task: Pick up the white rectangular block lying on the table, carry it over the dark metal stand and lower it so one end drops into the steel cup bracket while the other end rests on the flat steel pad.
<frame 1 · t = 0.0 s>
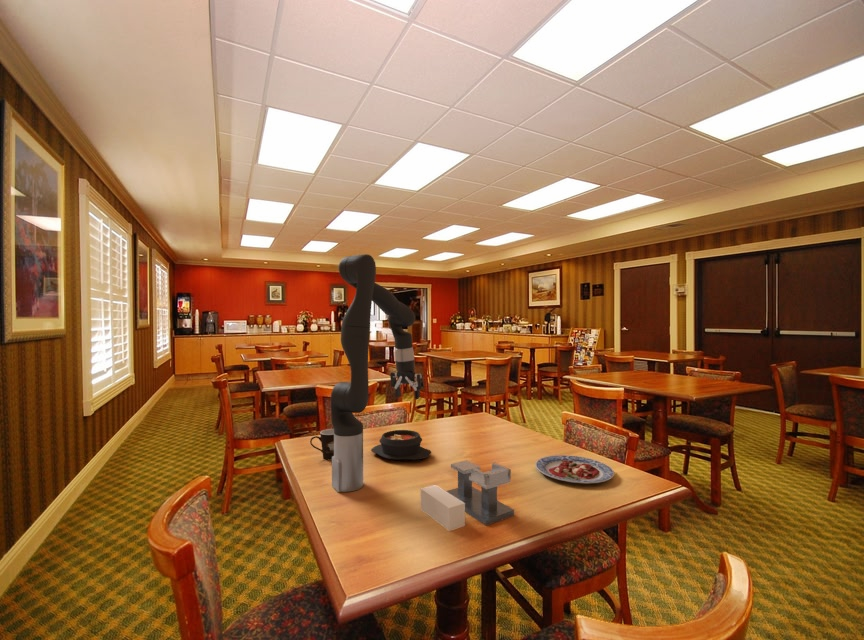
hand: (408, 398, 158), 22 cm above the table, tool pointing down, fingers open, 8 cm apart
coffee mug: (327, 457, 154), on the table
ceramic plate: (573, 474, 137), on the table
white rectangular block: (441, 517, 106), on the table
casserole: (400, 456, 156), on the table
rail stand: (476, 505, 113), on the table
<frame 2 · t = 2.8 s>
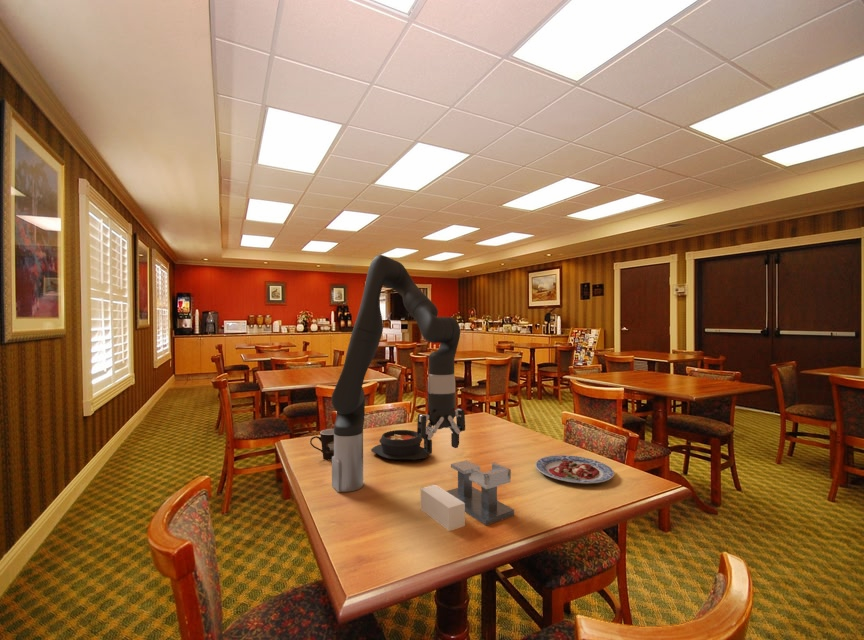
hand: (441, 450, 106), 18 cm above the table, tool pointing down, fingers open, 8 cm apart
nothing on the table moved.
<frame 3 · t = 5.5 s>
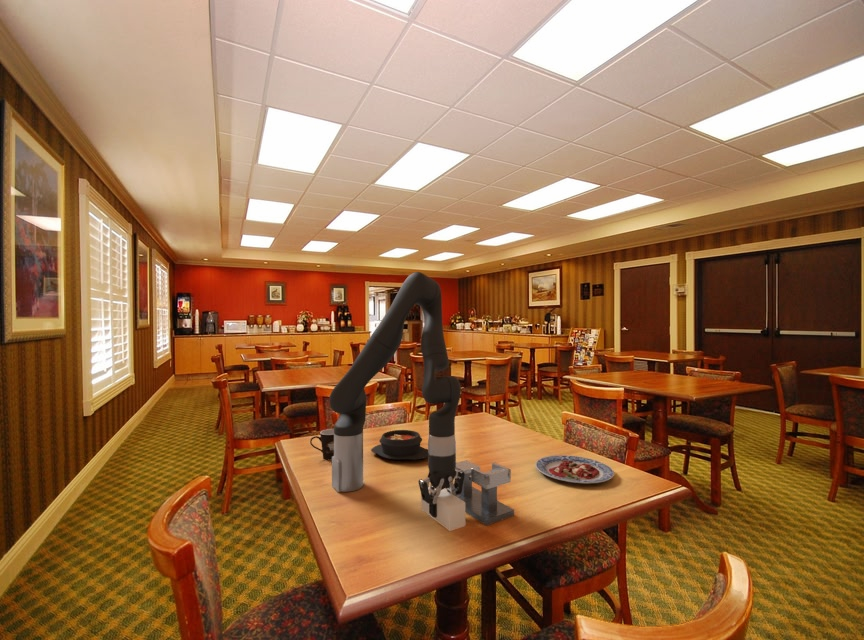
hand: (442, 513, 106), 1 cm above the table, tool pointing down, fingers closed on white rectangular block, 5 cm apart
white rectangular block: (442, 517, 106), on the table, touching gripper
everything else where it was.
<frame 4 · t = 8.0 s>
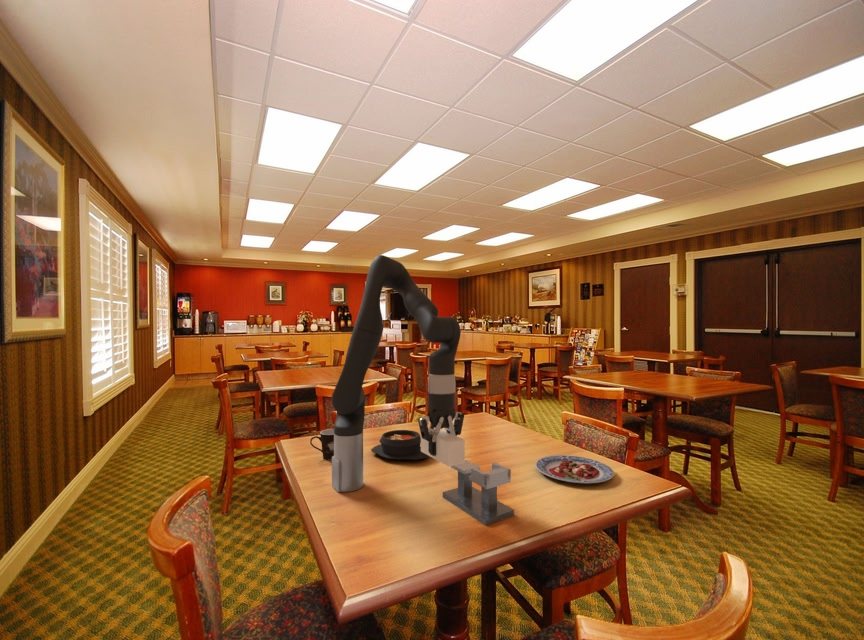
hand: (441, 452, 106), 17 cm above the table, tool pointing down, fingers closed on white rectangular block, 5 cm apart
white rectangular block: (441, 456, 106), point 16 cm above the table, touching gripper
everything else where it was.
when the fingers open (12 cm above the table, at t = 10.7 s): white rectangular block stays where it is, resting on rail stand.
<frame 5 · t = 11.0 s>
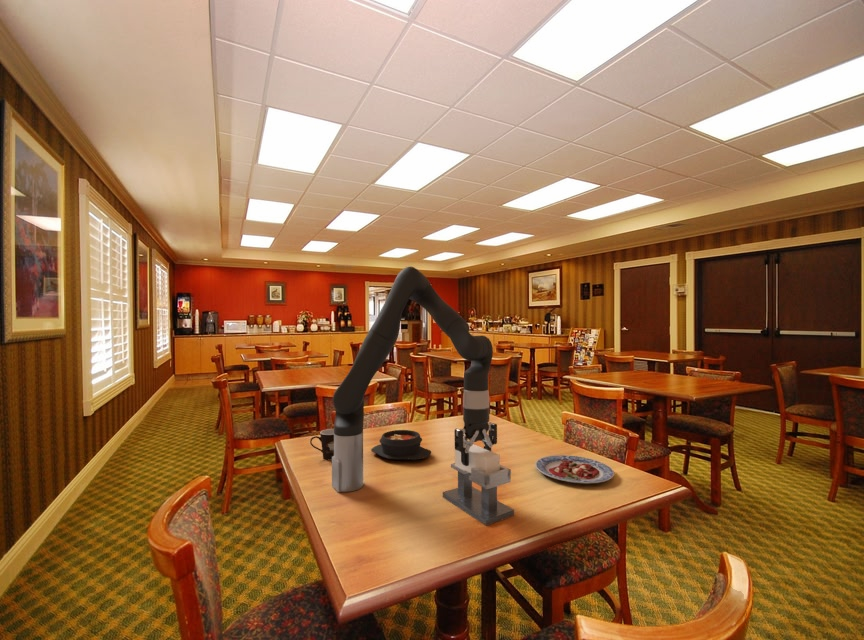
hand: (476, 462, 113), 12 cm above the table, tool pointing down, fingers open, 7 cm apart
white rectangular block: (476, 470, 113), point 10 cm above the table, touching rail stand
everything else where it was.
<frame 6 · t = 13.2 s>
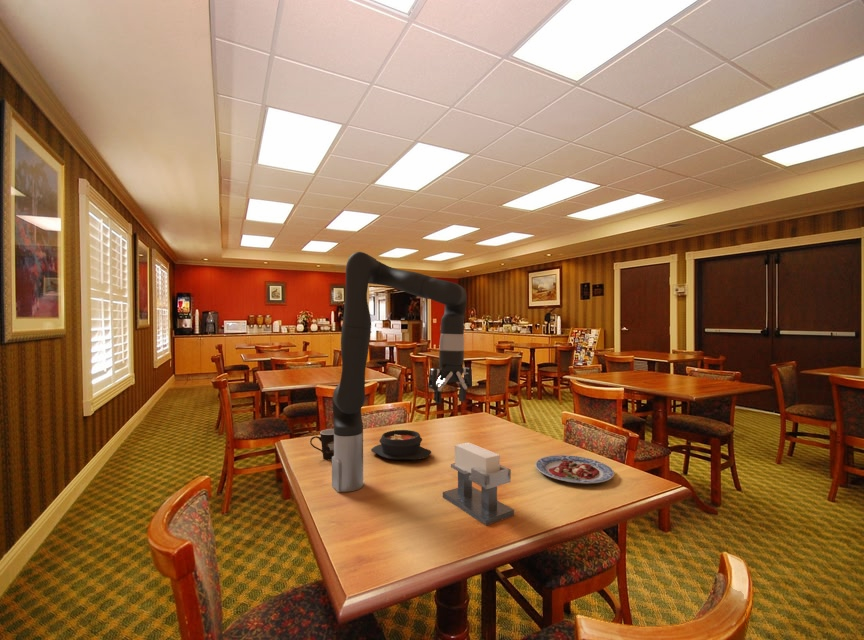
hand: (450, 402, 119), 28 cm above the table, tool pointing down, fingers open, 8 cm apart
nothing on the table moved.
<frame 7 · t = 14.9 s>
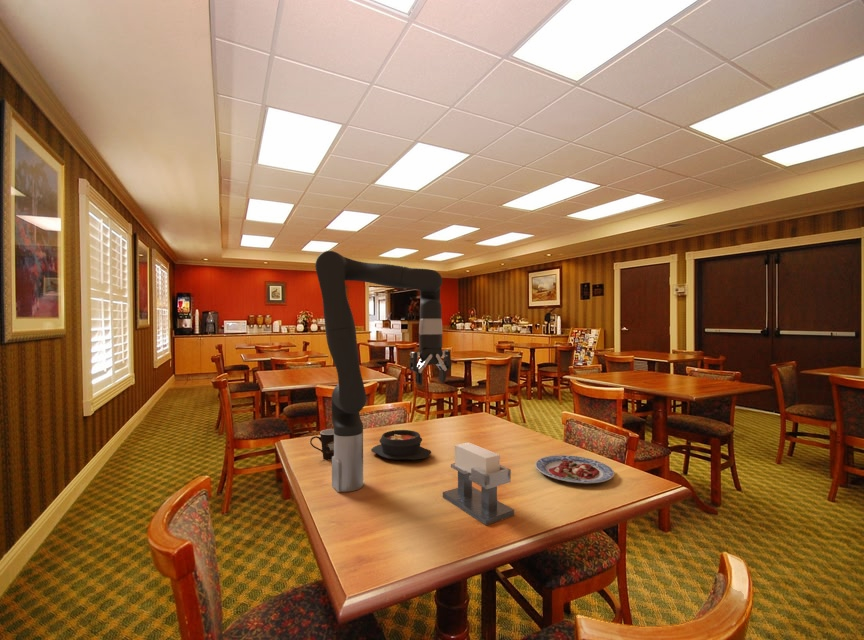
hand: (430, 383, 126), 33 cm above the table, tool pointing down, fingers open, 8 cm apart
nothing on the table moved.
at the end: white rectangular block 0.0 cm off-centre on the rail stand, point 10.0 cm above the rail stand's base; the gripper is holding nothing; white rectangular block tilted 0° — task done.
